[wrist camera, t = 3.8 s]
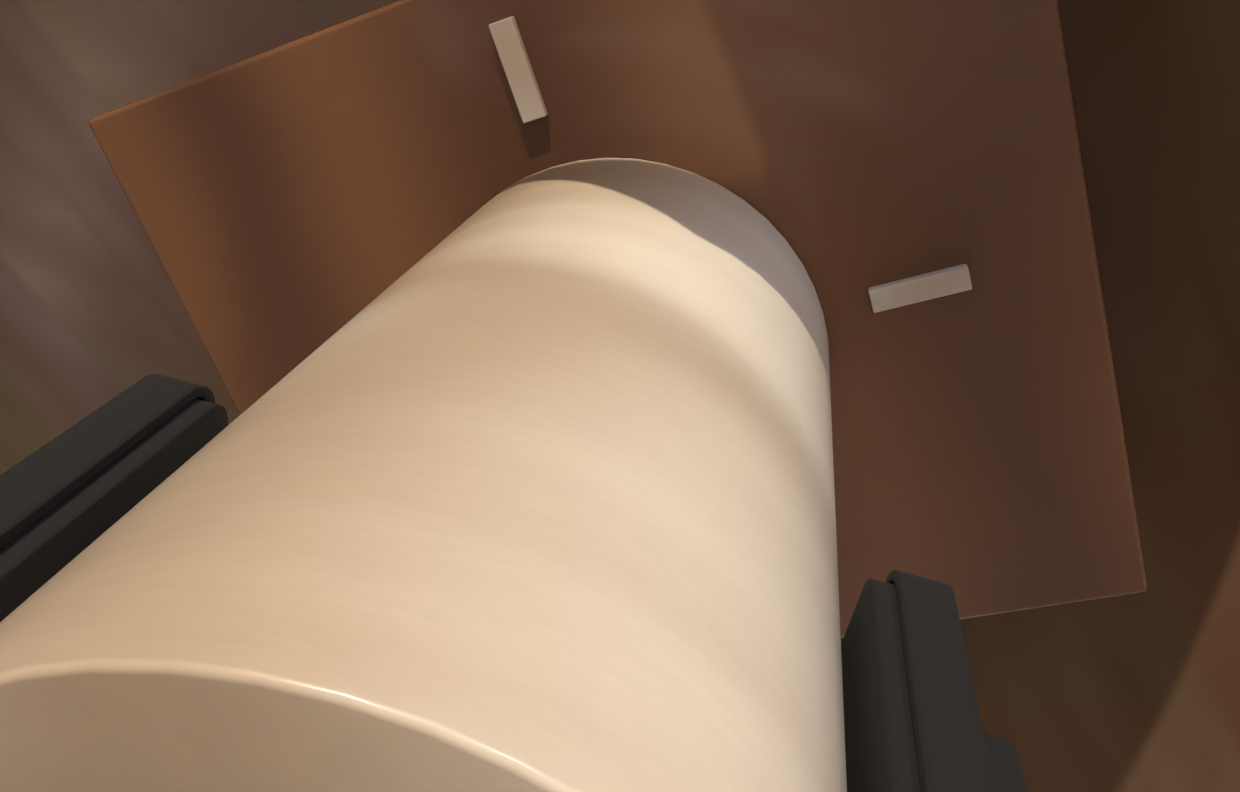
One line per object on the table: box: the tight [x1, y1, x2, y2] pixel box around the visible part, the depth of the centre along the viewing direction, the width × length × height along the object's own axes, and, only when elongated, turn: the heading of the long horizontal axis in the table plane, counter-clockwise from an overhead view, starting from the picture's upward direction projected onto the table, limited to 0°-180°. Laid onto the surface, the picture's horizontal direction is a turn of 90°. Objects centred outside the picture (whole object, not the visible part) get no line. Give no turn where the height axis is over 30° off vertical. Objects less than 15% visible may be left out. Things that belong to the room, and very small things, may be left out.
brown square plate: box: [89, 0, 1147, 638], centre depth 17 cm, size 14×12×3 cm
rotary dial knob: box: [0, 158, 847, 792], centre depth 11 cm, size 6×6×11 cm
